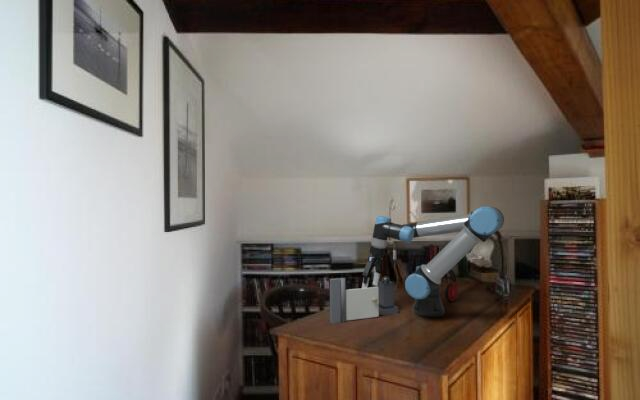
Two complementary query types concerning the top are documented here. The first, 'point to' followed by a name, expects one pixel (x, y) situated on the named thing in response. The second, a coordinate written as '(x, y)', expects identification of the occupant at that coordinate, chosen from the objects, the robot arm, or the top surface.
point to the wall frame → (337, 300)
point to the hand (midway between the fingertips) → (369, 287)
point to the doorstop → (386, 297)
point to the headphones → (451, 288)
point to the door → (361, 303)
